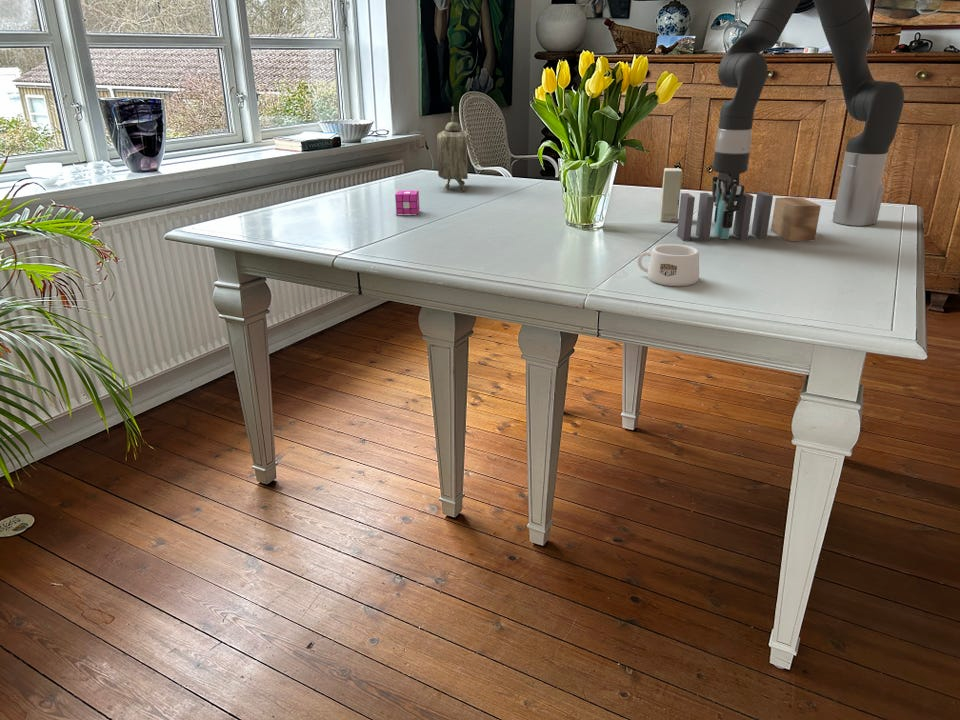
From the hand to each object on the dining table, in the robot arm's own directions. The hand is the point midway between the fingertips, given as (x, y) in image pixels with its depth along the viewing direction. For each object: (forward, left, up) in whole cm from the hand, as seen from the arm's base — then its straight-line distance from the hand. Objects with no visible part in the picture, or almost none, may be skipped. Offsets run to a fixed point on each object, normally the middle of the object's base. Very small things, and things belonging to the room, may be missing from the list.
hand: (722, 224), depth 166 cm
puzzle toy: (+75, -34, -3) cm, 82 cm away
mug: (+22, +31, -3) cm, 38 cm away
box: (+7, -19, -3) cm, 20 cm away
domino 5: (-9, 0, -3) cm, 9 cm away
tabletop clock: (+62, -69, -3) cm, 93 cm away
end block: (-17, 0, -3) cm, 17 cm away
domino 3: (0, 0, -3) cm, 3 cm away
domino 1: (+9, 0, -3) cm, 9 cm away
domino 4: (-4, 0, -3) cm, 5 cm away
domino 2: (+5, 0, -3) cm, 5 cm away
